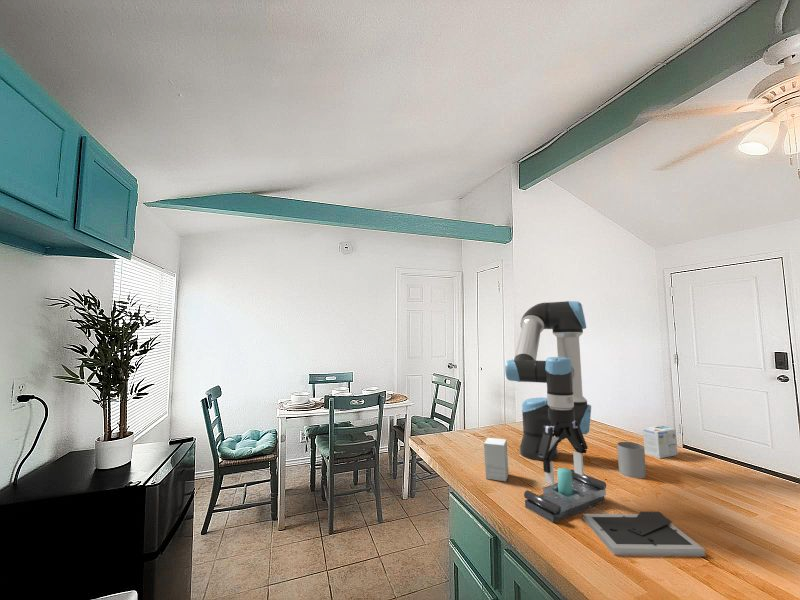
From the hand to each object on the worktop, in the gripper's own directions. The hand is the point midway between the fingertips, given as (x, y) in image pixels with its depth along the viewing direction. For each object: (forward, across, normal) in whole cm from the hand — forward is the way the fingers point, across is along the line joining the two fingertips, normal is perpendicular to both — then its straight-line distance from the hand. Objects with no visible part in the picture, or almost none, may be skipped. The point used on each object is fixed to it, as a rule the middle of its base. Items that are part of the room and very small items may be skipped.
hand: (564, 478), depth 108 cm
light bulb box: (+8, +70, +8) cm, 71 cm away
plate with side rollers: (+8, 0, 0) cm, 8 cm away
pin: (+8, 0, 0) cm, 8 cm away
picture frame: (+8, +2, -20) cm, 22 cm away
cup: (+8, +40, +3) cm, 41 cm away
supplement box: (+8, -4, +26) cm, 27 cm away
